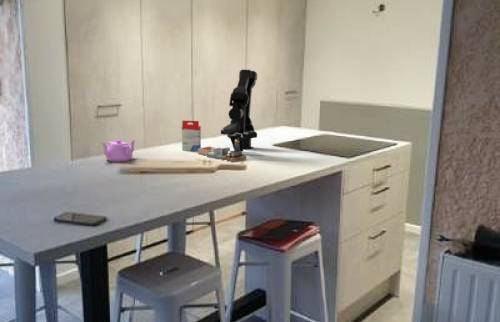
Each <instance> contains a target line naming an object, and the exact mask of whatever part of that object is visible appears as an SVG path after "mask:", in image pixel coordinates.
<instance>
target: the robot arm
mask: <svg viewBox="0 0 500 322" xmlns="http://www.w3.org/2000/svg"><path fill="white" fill-rule="evenodd" d="M238 74H239V75H238V82H237V86H236V87H234V88H233V89H232V92H231V94H230V99H229V105H228V106H229V107H232V108H230V109H229V112H228V117H229V119H230V123H229V124H227V125H226V126H224V127H221V129H220V134H221V135H224V136H226V138H229V140H230V141H231V144H232V147H233V151H234V150H235V139H237V138H238V139H239V140H240V150H241V152H242V153H243V152H244V151H243V150H248V149H254V146H252V139H256V138H258V133H257V130H256V131H255V127H254V124H253V121H252V119H251V117H250V115H251V103H252V89H253V88H254V87H255V85H256V82H257V81H258V73H257V72H256V71H255V70H252V69H244V68H243V69H240V71H239V73H238Z"/></svg>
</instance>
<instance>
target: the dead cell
mask: <svg viewBox="0 0 500 322" xmlns="http://www.w3.org/2000/svg"><path fill="white" fill-rule="evenodd" d="M236 150H240V140H239V139H238V138H237V139H235V150H234V149H233V151H236Z"/></svg>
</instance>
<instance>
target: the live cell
mask: <svg viewBox="0 0 500 322" xmlns="http://www.w3.org/2000/svg"><path fill="white" fill-rule="evenodd" d="M242 155H243V151H242V152H241V150H236V151H234V150H230V151H229V152H227V154H226V157H228V158H235V157H240V156H242Z"/></svg>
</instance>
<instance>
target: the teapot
mask: <svg viewBox="0 0 500 322" xmlns="http://www.w3.org/2000/svg"><path fill="white" fill-rule="evenodd" d="M136 140H137V138H133V139H131V142H130V145H129V144H128V143H127V142H125V141H122V139H116V140H115V141H111V140H110V141H108V146H107V143H106V142H105V143H104V142H102V141H101V142H100V144H102V148H103V149H102V150H103V154H104V156H105V158H106V160H108V161H109V162H111V163H120V162H121V163H123V162H129V161H131V160H132V158H133V153H134V150H135V141H136Z"/></svg>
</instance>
